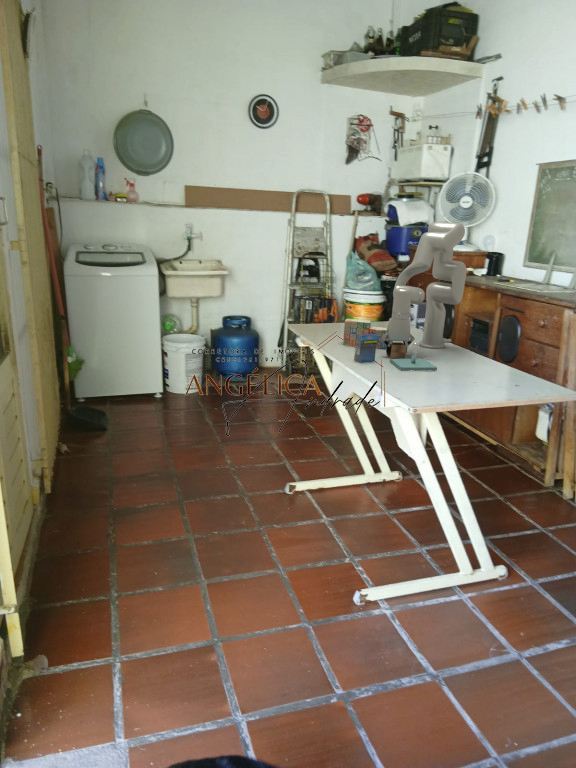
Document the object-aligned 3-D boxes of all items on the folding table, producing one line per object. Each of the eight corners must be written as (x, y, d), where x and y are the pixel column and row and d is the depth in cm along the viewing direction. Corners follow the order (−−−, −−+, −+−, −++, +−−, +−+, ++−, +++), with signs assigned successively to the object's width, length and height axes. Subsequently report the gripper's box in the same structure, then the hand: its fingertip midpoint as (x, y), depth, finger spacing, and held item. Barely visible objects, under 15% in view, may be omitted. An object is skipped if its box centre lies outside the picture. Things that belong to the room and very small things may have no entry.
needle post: (414, 362, 240) (416, 342, 237) (416, 363, 238) (418, 343, 235) (410, 362, 240) (412, 342, 237) (411, 363, 238) (414, 343, 235)
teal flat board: (424, 361, 247) (424, 358, 247) (436, 370, 234) (437, 367, 234) (389, 361, 245) (390, 358, 244) (400, 370, 231) (401, 367, 231)
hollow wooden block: (400, 354, 258) (401, 342, 256) (405, 358, 251) (406, 345, 250) (386, 354, 257) (388, 342, 255) (391, 358, 250) (392, 345, 249)
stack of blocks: (387, 346, 273) (389, 322, 269) (386, 349, 267) (389, 324, 263) (344, 342, 277) (346, 318, 274) (342, 345, 271) (344, 320, 268)
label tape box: (369, 358, 249) (372, 331, 245) (375, 360, 245) (377, 333, 241) (353, 360, 244) (356, 333, 241) (359, 362, 241) (361, 335, 237)
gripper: (415, 314, 253) (411, 352, 259) (379, 314, 250) (375, 352, 256) (421, 318, 246) (417, 356, 252) (384, 317, 243) (380, 356, 249)
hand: (396, 354), depth 254 cm, fingers closed on hollow wooden block, 6 cm apart
